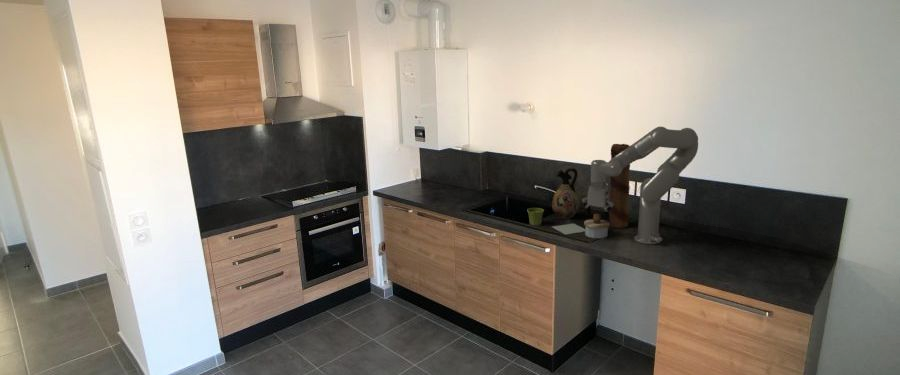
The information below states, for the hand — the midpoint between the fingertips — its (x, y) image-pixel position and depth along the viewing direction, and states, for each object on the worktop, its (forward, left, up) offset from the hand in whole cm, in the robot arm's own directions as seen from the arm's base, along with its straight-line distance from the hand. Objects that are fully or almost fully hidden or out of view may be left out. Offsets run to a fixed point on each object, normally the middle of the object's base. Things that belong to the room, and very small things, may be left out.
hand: (597, 216), depth 255 cm
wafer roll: (+10, -21, -11) cm, 26 cm away
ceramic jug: (+35, -4, -11) cm, 36 cm away
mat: (+14, +7, -10) cm, 19 cm away
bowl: (0, 0, -10) cm, 10 cm away
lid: (0, 0, -4) cm, 4 cm away
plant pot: (+30, +19, -11) cm, 37 cm away
